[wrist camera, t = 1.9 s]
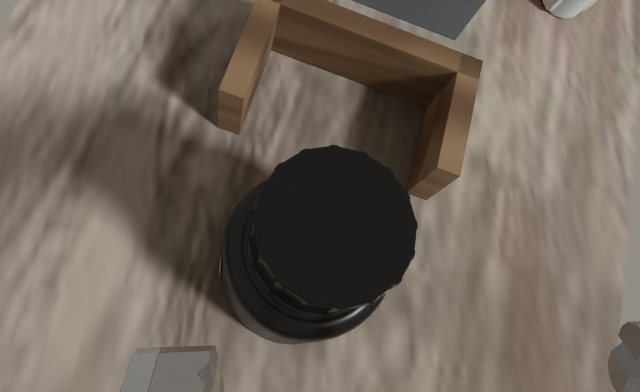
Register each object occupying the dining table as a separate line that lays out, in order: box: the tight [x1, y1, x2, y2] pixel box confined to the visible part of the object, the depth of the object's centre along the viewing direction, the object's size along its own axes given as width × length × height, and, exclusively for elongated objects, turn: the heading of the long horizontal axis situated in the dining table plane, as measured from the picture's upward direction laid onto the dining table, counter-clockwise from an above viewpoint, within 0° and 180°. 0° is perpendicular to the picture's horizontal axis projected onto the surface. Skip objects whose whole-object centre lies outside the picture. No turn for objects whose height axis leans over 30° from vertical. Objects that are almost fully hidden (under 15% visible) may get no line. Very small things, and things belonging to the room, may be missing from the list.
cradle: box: [217, 0, 483, 200], centre depth 33 cm, size 8×15×5 cm, turn 74°
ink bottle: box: [219, 145, 417, 344], centre depth 26 cm, size 10×9×12 cm
